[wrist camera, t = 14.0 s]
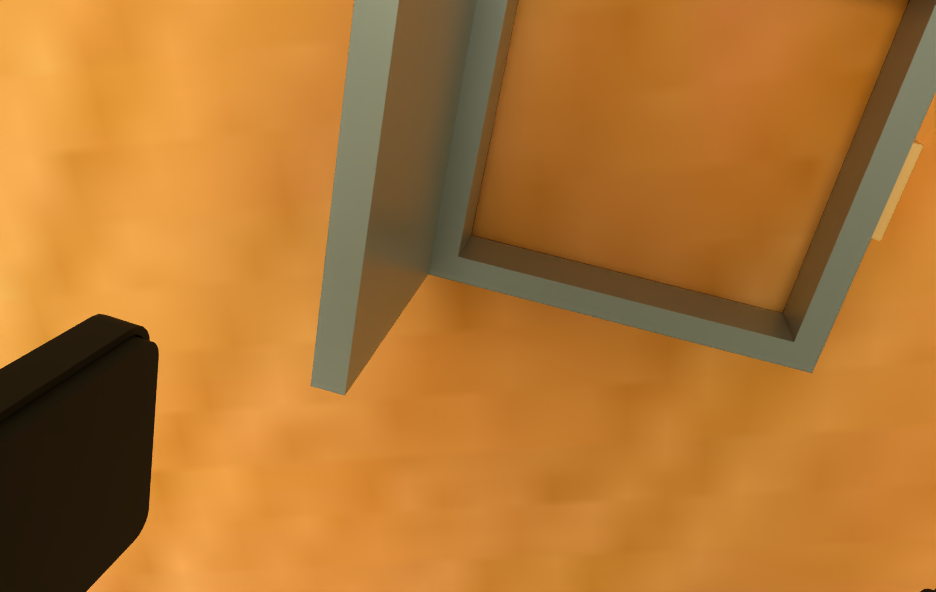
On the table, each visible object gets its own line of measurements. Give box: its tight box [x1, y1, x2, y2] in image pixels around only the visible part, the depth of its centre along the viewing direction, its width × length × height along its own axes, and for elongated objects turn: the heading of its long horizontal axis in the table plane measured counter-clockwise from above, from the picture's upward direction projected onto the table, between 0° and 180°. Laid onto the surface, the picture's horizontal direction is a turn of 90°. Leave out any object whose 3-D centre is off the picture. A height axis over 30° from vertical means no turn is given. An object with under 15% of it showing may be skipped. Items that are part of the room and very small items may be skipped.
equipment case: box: [311, 0, 936, 395], centre depth 28 cm, size 19×16×14 cm
